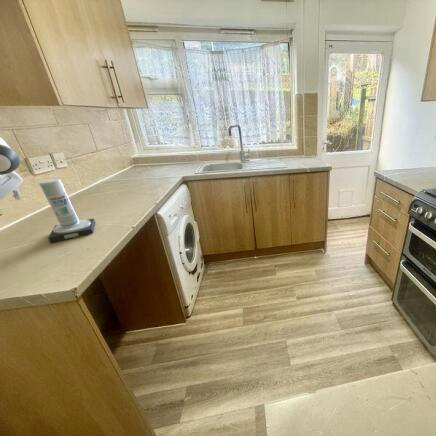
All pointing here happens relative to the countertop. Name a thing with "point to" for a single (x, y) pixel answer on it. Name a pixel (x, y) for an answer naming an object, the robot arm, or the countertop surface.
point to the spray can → (59, 202)
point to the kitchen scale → (72, 231)
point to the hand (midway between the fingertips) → (9, 206)
